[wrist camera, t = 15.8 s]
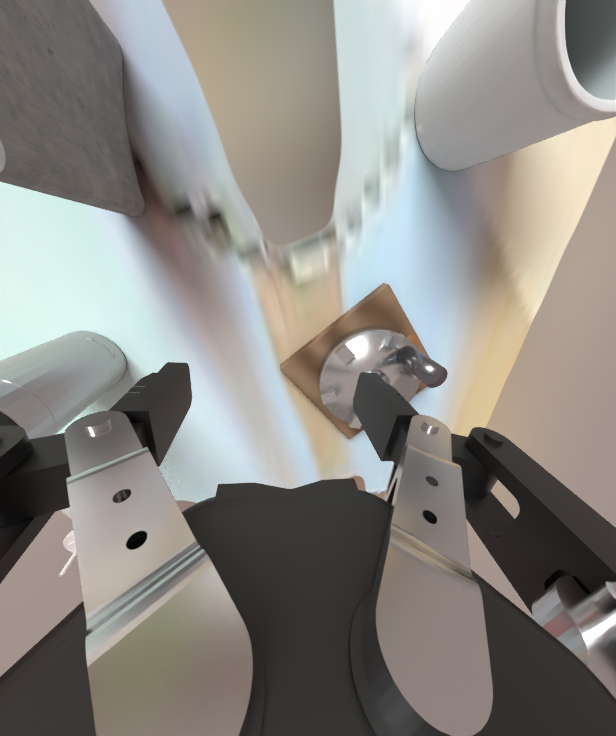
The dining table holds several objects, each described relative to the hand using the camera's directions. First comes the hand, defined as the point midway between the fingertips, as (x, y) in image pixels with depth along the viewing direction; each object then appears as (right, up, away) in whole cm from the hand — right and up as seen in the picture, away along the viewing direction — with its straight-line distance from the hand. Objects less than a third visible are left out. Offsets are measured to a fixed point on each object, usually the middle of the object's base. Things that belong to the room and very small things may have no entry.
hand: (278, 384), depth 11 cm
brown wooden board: (+12, +1, +33) cm, 35 cm away
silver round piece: (+12, 0, +31) cm, 33 cm away
